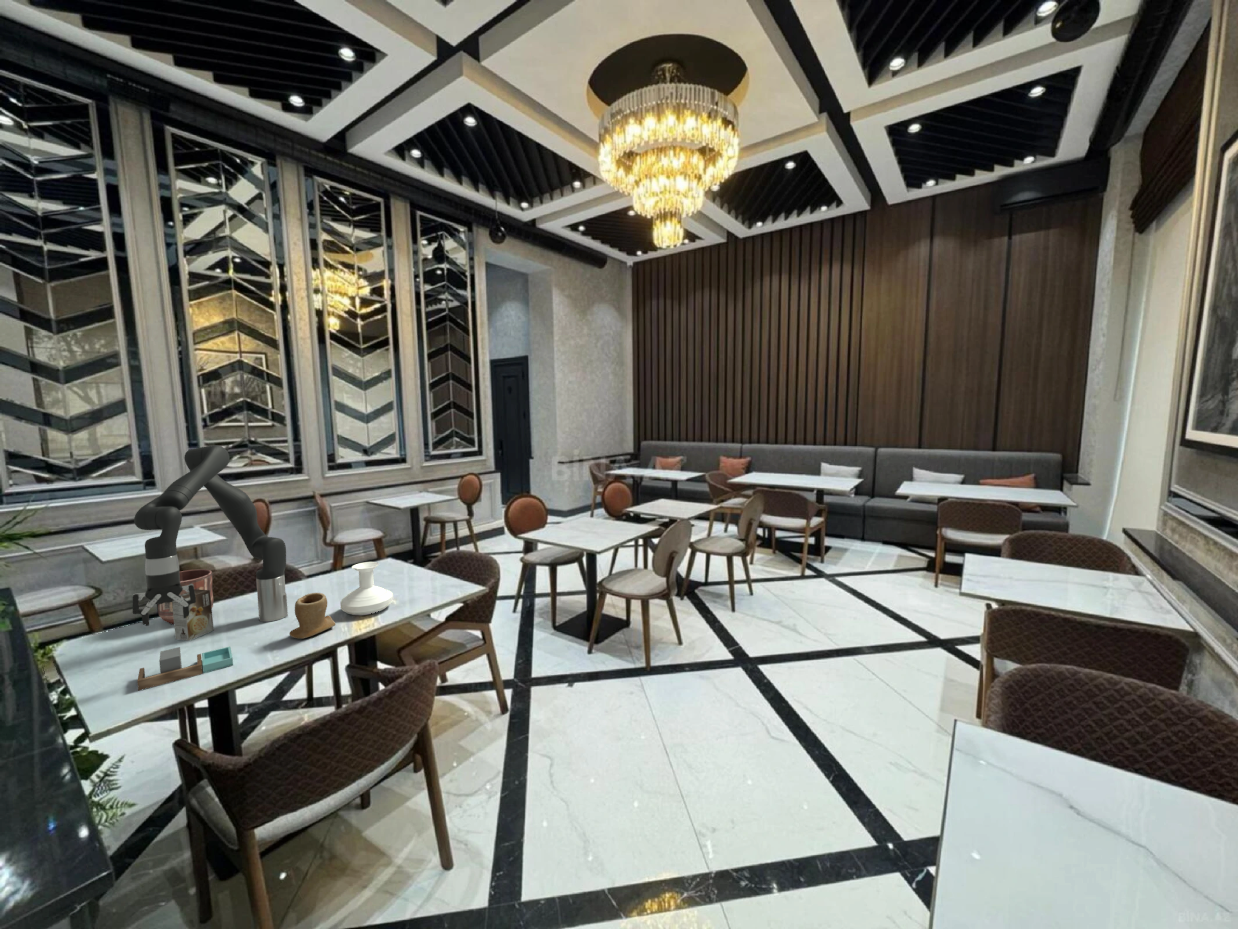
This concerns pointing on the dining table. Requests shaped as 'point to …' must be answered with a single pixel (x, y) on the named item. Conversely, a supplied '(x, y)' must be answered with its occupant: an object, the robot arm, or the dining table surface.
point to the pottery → (200, 582)
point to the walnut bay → (169, 675)
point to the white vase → (366, 593)
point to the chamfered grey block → (170, 660)
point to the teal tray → (217, 659)
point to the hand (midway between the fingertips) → (166, 621)
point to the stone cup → (311, 616)
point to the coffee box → (193, 616)
